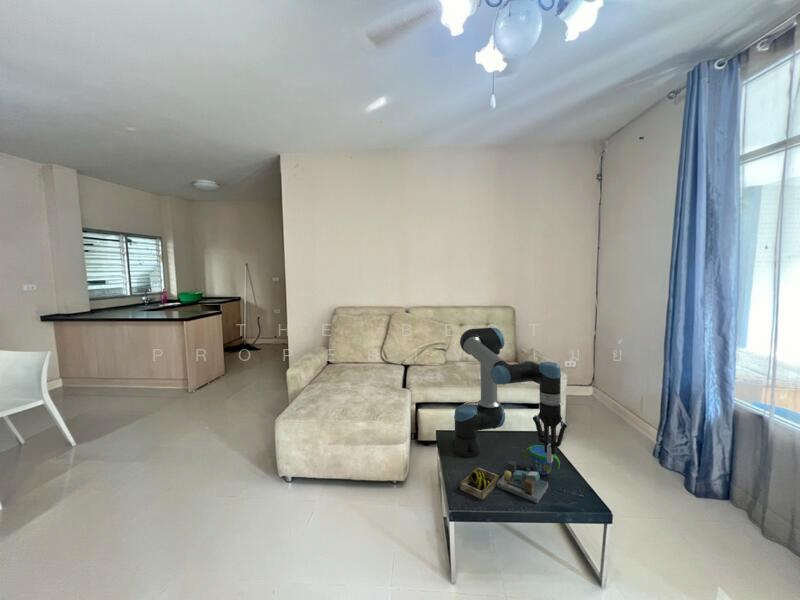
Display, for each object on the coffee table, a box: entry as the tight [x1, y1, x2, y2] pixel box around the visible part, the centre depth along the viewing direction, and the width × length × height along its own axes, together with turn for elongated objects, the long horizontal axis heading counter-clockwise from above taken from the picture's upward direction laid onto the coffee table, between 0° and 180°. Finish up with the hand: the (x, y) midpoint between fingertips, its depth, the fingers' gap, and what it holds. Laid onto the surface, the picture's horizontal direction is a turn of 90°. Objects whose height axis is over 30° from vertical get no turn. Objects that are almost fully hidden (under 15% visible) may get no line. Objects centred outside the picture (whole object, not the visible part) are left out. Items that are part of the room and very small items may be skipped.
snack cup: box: [523, 444, 561, 476], centre depth 152 cm, size 16×10×10 cm
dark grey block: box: [507, 460, 518, 474], centre depth 148 cm, size 3×3×4 cm
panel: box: [496, 467, 549, 504], centre depth 141 cm, size 17×14×7 cm
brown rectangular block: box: [524, 478, 534, 494], centre depth 134 cm, size 3×3×4 cm
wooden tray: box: [459, 467, 500, 501], centre depth 142 cm, size 11×16×3 cm
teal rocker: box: [513, 469, 541, 482], centre depth 141 cm, size 10×4×2 cm, turn 49°
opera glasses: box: [470, 470, 490, 491], centre depth 142 cm, size 10×5×5 cm, turn 9°
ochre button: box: [503, 470, 511, 480], centre depth 144 cm, size 3×3×2 cm
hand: (550, 461), depth 128 cm, fingers closed
